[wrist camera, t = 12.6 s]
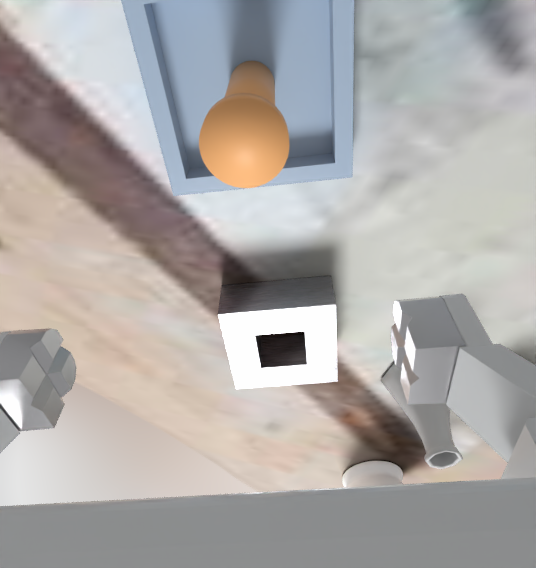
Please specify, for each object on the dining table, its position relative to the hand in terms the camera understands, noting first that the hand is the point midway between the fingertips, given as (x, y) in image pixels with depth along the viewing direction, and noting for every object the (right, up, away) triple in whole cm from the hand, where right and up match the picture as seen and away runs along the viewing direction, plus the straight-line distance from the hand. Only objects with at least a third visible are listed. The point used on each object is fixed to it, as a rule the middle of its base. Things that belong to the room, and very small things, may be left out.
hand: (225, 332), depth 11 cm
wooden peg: (0, +14, +18) cm, 23 cm away
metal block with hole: (+2, -2, +32) cm, 32 cm away
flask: (+17, -9, +38) cm, 42 cm away
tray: (0, +15, +19) cm, 24 cm away
